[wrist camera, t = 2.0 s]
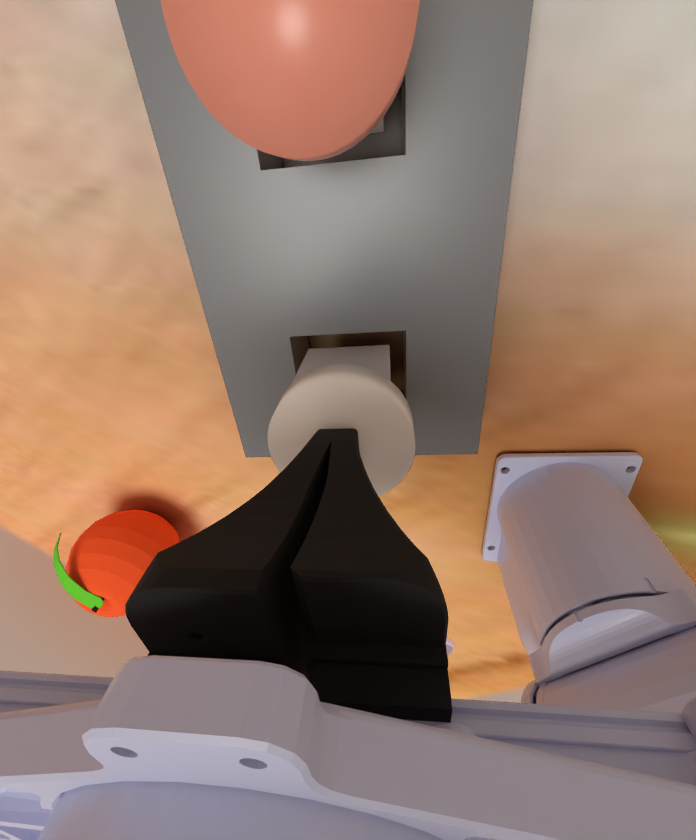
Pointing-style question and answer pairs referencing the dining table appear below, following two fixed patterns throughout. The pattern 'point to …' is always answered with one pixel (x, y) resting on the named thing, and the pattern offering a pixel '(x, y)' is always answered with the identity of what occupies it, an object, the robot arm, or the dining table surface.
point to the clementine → (113, 559)
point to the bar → (354, 222)
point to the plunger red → (294, 67)
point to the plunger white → (347, 411)
